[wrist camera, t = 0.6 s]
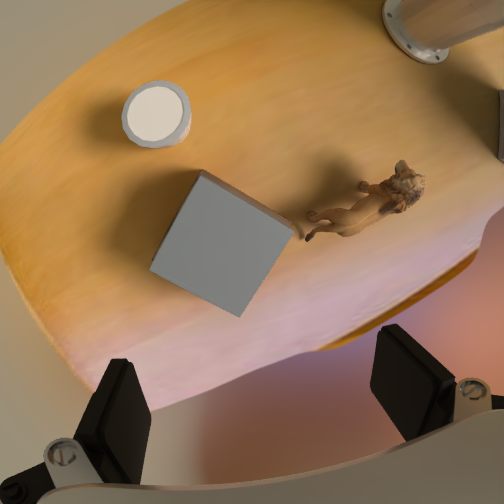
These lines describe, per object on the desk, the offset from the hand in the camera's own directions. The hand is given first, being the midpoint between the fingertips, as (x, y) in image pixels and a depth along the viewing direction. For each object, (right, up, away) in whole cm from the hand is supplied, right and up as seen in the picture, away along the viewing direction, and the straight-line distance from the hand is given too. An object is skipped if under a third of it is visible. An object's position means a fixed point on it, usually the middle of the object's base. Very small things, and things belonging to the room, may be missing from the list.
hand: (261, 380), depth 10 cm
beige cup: (-10, +19, +22) cm, 31 cm away
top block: (-4, +6, +21) cm, 22 cm away
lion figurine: (+12, +11, +26) cm, 31 cm away
